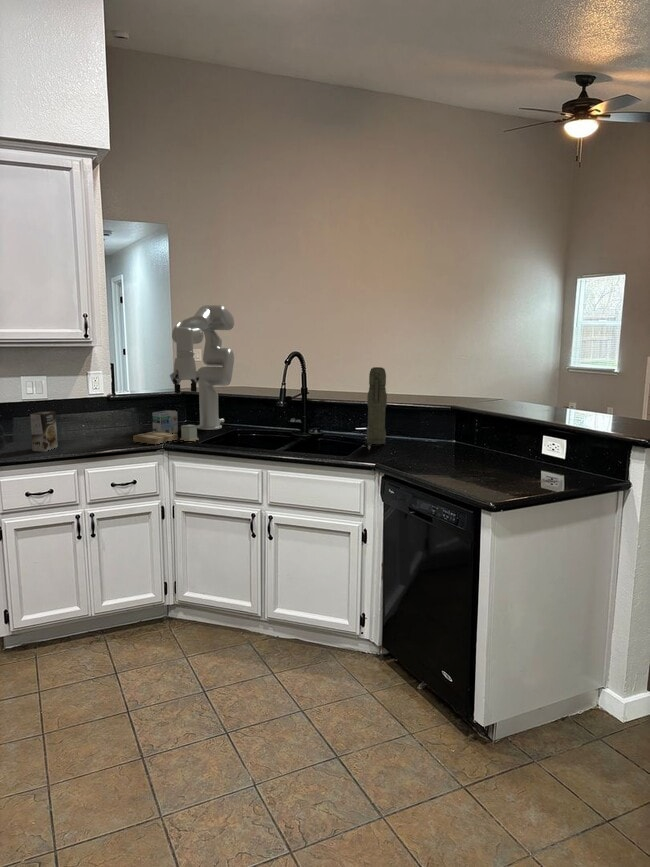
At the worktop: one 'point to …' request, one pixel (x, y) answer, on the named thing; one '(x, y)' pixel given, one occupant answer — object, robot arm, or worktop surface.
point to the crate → (189, 432)
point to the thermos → (376, 406)
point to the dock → (155, 437)
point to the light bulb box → (165, 421)
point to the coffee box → (43, 431)
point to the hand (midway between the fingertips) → (185, 392)
